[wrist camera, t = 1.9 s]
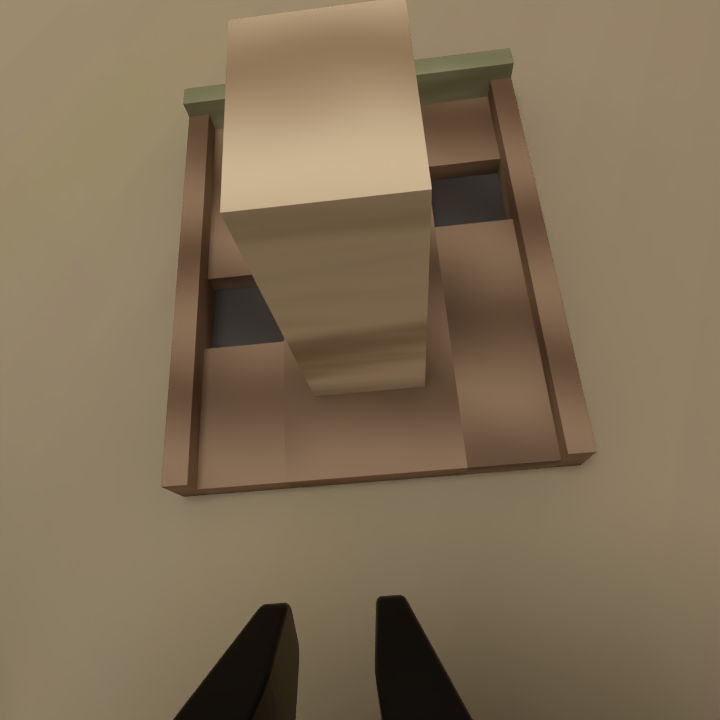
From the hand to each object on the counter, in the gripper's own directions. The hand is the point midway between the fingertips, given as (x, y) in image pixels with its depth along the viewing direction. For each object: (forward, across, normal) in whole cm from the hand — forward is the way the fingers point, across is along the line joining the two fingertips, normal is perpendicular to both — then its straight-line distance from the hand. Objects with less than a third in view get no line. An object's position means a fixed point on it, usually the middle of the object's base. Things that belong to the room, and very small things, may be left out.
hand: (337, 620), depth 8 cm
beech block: (+16, 0, +1) cm, 17 cm away
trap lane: (+20, 0, -1) cm, 20 cm away
